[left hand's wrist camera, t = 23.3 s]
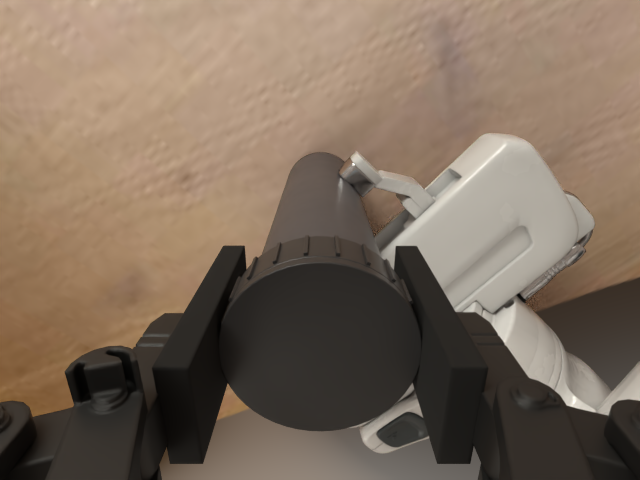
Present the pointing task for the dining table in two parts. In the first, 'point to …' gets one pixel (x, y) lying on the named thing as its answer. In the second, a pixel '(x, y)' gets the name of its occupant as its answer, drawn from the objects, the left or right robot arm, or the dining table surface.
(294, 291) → the lid
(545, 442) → the left robot arm
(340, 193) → the grey capped tube
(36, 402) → the dining table surface
